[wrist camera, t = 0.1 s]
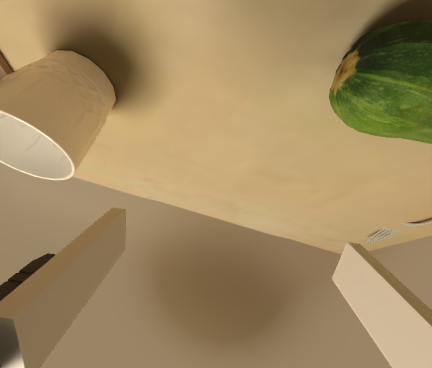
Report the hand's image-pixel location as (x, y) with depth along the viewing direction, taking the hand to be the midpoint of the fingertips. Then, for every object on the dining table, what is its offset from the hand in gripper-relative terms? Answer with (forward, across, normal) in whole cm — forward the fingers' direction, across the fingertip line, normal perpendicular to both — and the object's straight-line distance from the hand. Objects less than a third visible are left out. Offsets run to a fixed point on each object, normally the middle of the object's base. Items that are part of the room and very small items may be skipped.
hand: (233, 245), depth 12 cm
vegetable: (+10, +16, +13) cm, 23 cm away
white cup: (+14, -17, +8) cm, 23 cm away
